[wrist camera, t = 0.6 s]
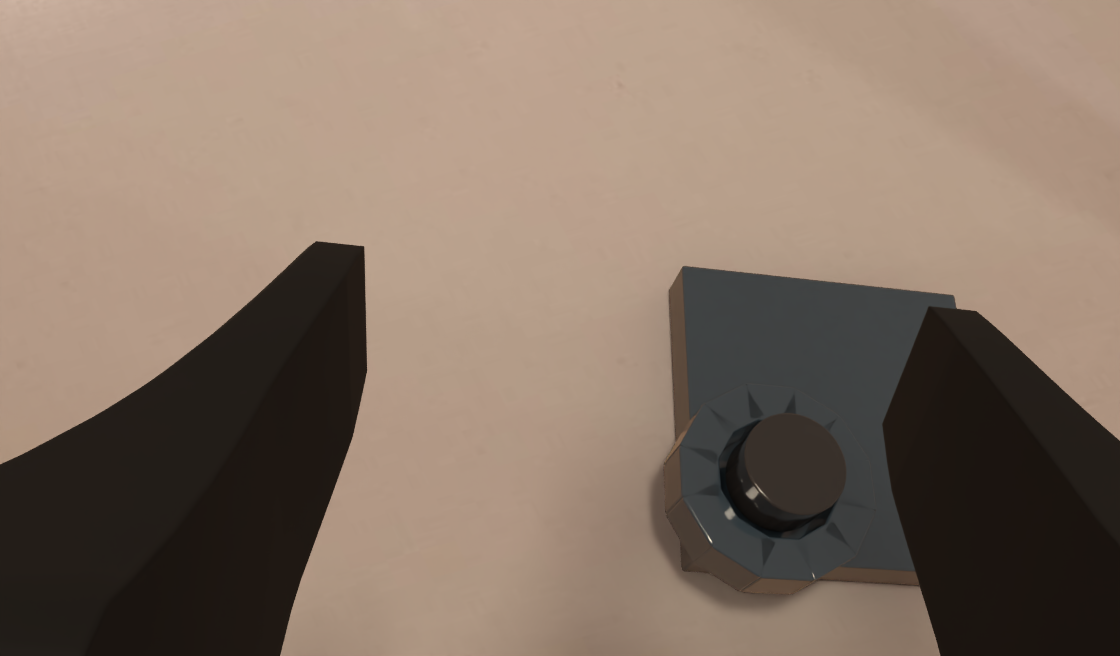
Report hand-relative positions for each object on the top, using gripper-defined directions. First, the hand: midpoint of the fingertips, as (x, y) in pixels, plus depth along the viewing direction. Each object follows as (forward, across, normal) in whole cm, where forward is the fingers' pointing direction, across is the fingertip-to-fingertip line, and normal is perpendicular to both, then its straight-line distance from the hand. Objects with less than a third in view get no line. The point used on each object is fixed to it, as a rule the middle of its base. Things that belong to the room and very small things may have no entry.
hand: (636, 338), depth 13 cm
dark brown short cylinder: (+11, -6, +13) cm, 18 cm away
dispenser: (+15, -8, +15) cm, 23 cm away
